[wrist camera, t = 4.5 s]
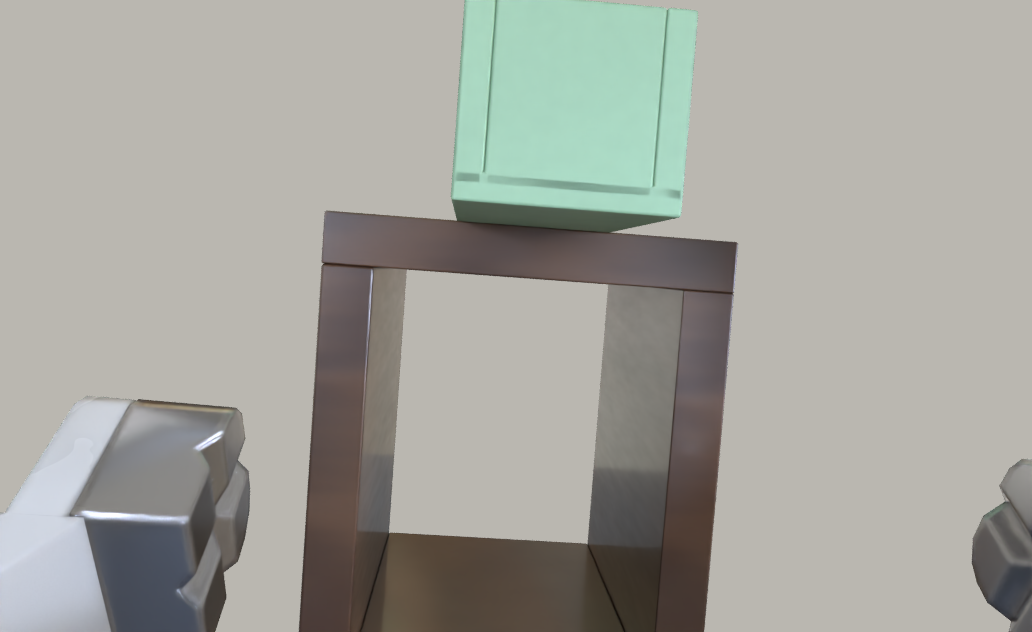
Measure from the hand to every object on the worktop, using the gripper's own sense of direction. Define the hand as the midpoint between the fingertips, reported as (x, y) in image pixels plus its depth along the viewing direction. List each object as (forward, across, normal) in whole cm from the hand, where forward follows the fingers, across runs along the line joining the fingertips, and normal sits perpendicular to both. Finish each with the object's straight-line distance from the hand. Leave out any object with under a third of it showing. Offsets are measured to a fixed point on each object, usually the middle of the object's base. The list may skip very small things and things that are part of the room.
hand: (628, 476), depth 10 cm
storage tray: (+18, 0, -7) cm, 19 cm away
